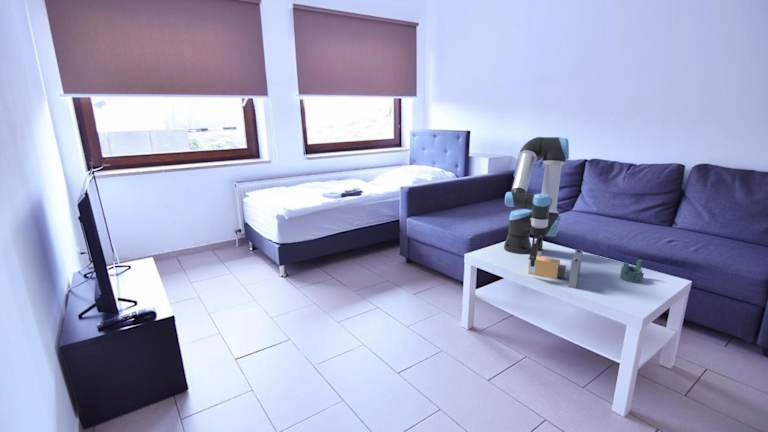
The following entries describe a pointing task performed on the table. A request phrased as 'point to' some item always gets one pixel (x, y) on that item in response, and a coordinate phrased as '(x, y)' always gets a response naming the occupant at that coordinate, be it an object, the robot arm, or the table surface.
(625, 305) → the table surface
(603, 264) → the table surface
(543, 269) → the plug
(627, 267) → the teal lumpy piece
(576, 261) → the housing
